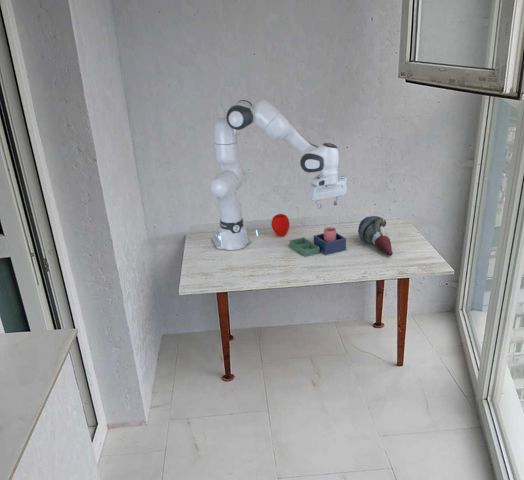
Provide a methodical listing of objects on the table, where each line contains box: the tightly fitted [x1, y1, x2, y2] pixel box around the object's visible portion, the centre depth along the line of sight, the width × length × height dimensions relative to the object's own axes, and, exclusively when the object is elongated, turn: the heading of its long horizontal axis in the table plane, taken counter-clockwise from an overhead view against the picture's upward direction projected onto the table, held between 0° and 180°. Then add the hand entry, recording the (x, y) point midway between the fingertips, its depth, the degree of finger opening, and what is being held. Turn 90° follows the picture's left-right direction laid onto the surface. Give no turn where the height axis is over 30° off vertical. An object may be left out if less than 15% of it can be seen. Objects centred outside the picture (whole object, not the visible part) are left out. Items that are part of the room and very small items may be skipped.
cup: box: [323, 226, 337, 242], centre depth 287 cm, size 6×6×10 cm
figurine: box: [357, 215, 394, 257], centre depth 288 cm, size 29×17×15 cm
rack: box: [289, 237, 321, 257], centre depth 290 cm, size 16×8×3 cm, turn 26°
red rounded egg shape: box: [270, 213, 290, 238], centre depth 305 cm, size 10×10×12 cm
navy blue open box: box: [313, 232, 347, 256], centre depth 288 cm, size 12×12×6 cm
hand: (327, 206), depth 279 cm, fingers open, 8 cm apart
